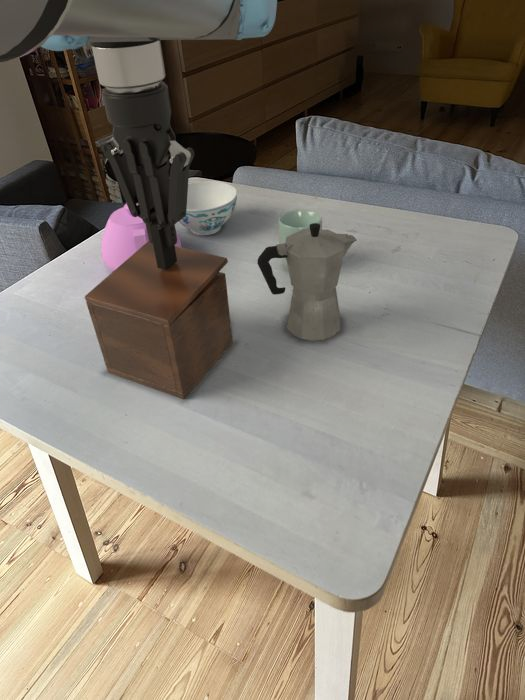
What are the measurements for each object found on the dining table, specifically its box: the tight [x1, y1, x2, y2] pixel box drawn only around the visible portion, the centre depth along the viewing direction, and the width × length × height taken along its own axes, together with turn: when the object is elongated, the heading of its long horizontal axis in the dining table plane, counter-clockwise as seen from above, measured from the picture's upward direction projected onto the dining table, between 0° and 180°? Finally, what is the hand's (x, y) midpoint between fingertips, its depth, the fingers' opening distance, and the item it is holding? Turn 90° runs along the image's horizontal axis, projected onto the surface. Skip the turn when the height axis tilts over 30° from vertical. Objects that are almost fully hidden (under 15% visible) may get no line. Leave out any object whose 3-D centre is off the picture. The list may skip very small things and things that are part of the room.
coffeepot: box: [257, 223, 357, 342], centre depth 82 cm, size 15×9×18 cm, turn 106°
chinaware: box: [178, 180, 238, 236], centre depth 115 cm, size 15×15×8 cm
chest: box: [85, 271, 234, 400], centre depth 79 cm, size 14×14×13 cm
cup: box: [277, 208, 323, 269], centre depth 100 cm, size 8×8×10 cm
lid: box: [84, 241, 229, 325], centre depth 75 cm, size 15×14×1 cm
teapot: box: [100, 202, 182, 272], centre depth 104 cm, size 22×16×12 cm
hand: (167, 264), depth 76 cm, fingers closed
